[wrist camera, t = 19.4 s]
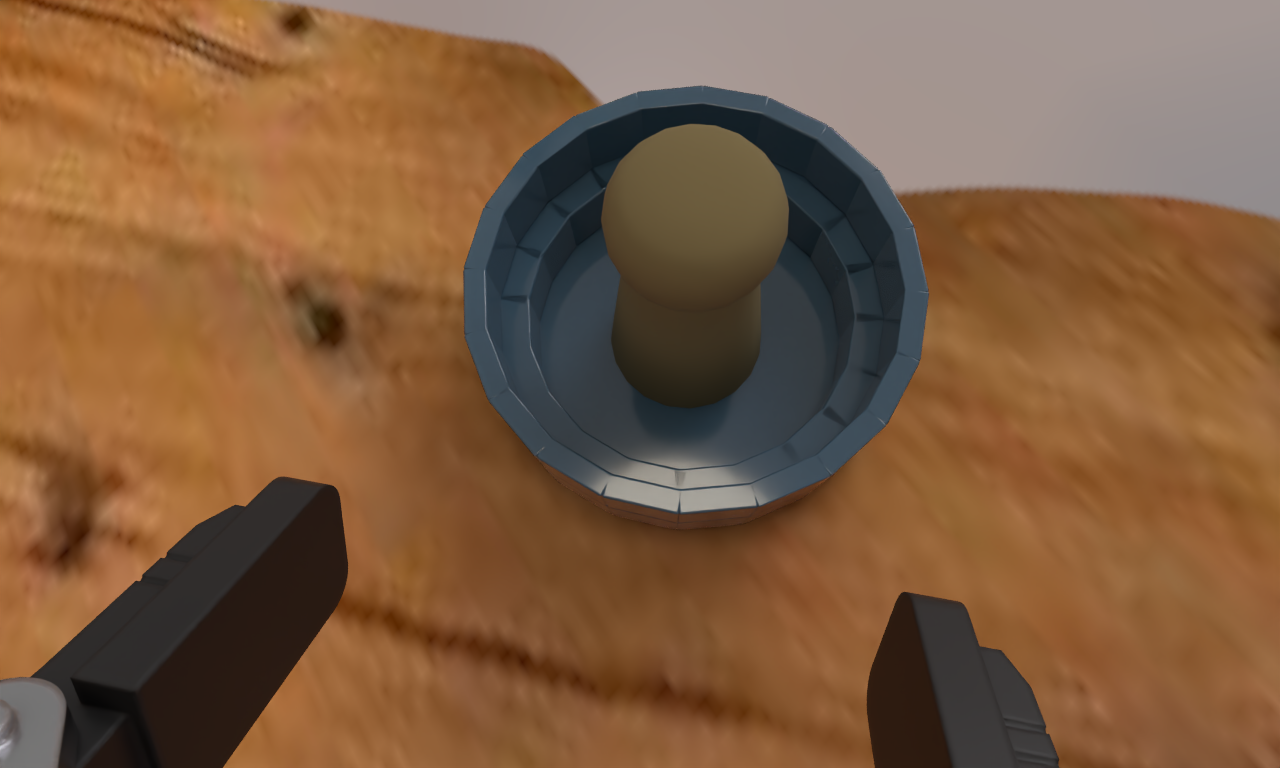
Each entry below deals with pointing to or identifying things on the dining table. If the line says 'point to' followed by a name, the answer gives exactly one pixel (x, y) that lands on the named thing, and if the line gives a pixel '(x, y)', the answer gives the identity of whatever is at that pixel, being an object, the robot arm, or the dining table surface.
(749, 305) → the olive peg figure
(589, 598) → the dining table surface
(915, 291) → the glazed bowl
